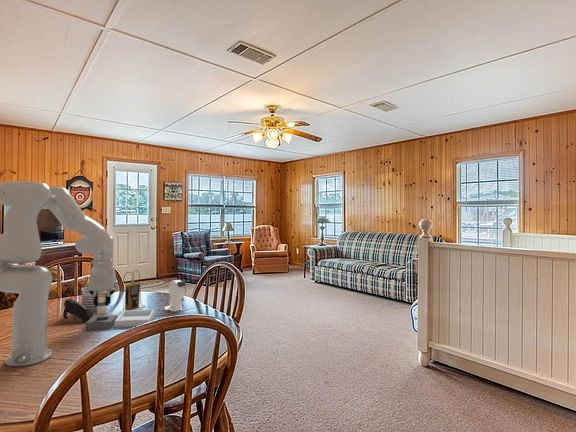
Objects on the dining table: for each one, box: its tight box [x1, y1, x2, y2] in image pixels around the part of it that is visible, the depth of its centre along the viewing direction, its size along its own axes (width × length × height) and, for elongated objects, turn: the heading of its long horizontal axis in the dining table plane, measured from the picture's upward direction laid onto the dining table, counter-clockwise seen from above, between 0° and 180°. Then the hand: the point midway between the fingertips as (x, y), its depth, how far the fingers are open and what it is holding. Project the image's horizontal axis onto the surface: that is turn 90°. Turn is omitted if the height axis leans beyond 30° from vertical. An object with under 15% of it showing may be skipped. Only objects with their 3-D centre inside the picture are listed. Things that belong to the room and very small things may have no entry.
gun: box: [62, 298, 94, 323], centre depth 156 cm, size 3×16×10 cm, turn 79°
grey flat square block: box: [85, 314, 119, 331], centre depth 149 cm, size 10×10×3 cm
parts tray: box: [113, 309, 155, 329], centre depth 156 cm, size 16×14×3 cm
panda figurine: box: [164, 277, 187, 312], centre depth 179 cm, size 12×11×15 cm
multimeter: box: [122, 269, 145, 312], centre depth 175 cm, size 15×10×20 cm
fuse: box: [96, 291, 108, 316], centre depth 149 cm, size 4×4×9 cm
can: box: [81, 286, 107, 314], centre depth 171 cm, size 11×11×12 cm
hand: (102, 304), depth 149 cm, fingers closed on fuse, 3 cm apart
